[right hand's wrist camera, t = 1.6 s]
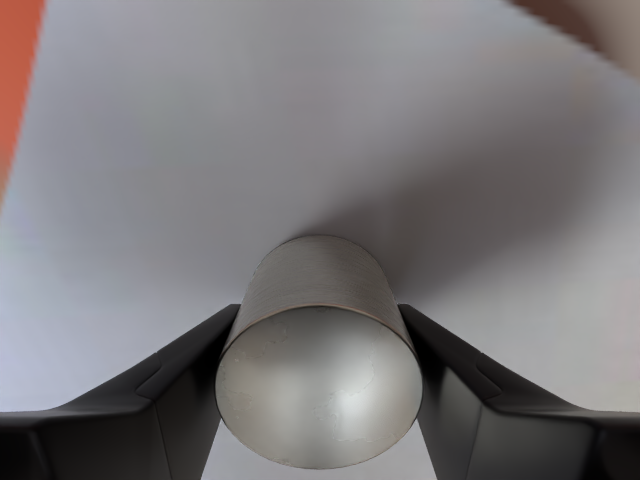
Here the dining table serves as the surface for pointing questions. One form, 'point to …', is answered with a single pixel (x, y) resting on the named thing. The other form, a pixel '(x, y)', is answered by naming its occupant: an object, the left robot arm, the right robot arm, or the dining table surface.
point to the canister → (319, 359)
